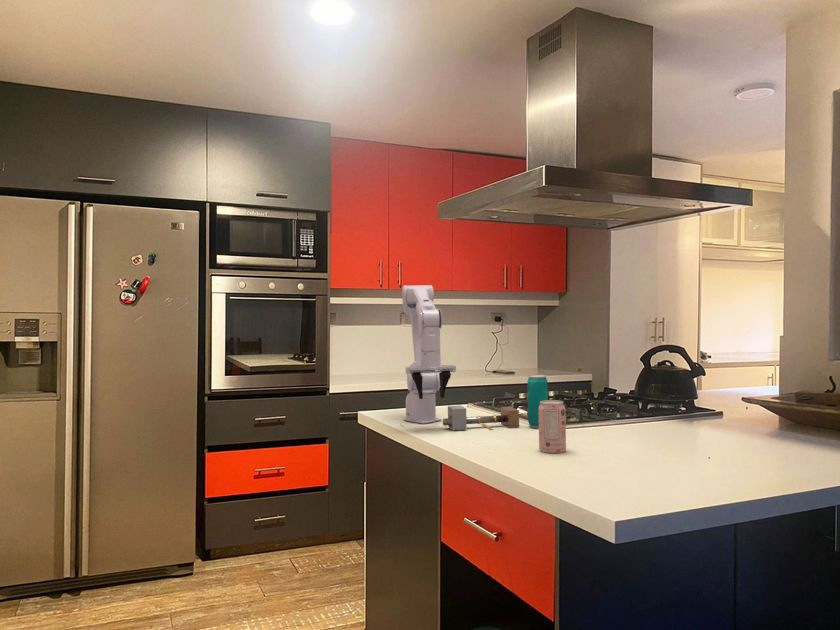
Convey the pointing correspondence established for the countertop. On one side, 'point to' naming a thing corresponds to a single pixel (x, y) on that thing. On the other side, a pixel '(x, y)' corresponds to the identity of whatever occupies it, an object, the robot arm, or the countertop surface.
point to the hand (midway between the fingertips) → (431, 397)
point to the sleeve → (457, 417)
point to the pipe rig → (493, 419)
